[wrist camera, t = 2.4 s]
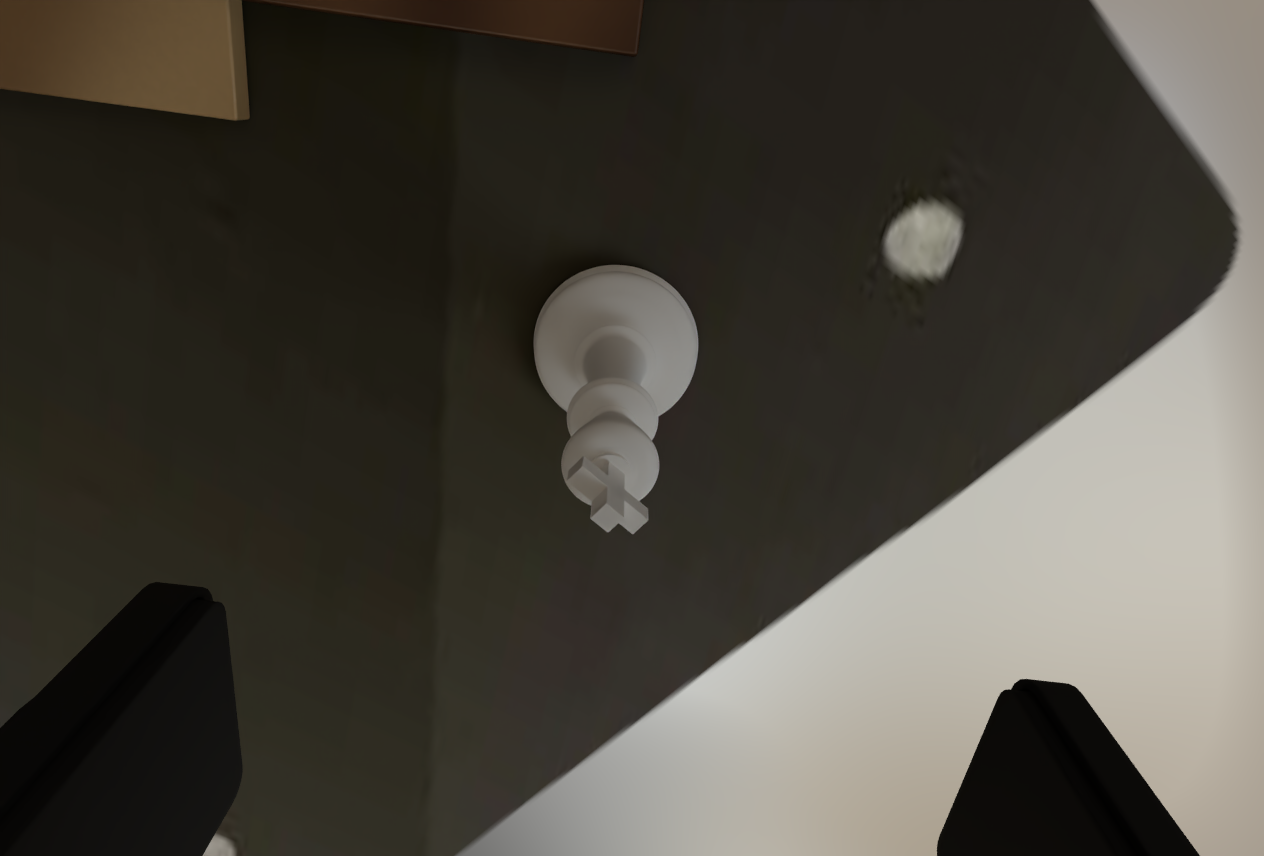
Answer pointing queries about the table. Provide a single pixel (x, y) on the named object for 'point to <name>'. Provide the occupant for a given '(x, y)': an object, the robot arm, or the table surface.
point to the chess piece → (614, 381)
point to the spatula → (215, 48)
